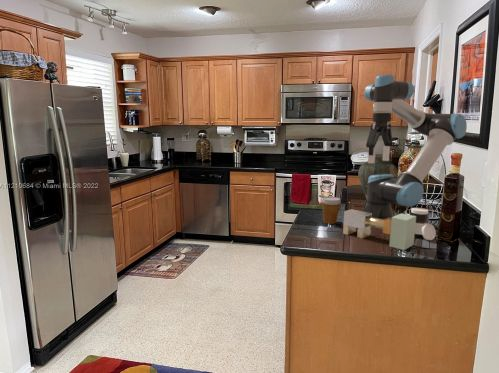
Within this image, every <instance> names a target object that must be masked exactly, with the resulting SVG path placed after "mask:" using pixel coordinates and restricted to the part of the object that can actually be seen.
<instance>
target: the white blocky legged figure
mask: <svg viewBox="0 0 499 373" xmlns="http://www.w3.org/2000/svg"><path fill="white" fill-rule="evenodd" d="M363 211H364V210H363ZM363 211H361V210H356V209H353V208H352V209H348V210H344V211H343V223H342V224H343V225H342V229H343V230H342V234H344V235H348V236H349V235H350V234H353V233H355V232H357V235H356V236H357V237H356V238H359V239H364V238H367V237H369V236H370V235H371V233H372V232H371V230H372V229H371V228H372V227H370V226H366V225H365V219H366V216H368V217H372V213H368V212H363Z"/></svg>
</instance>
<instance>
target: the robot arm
mask: <svg viewBox="0 0 499 373" xmlns="http://www.w3.org/2000/svg"><path fill="white" fill-rule="evenodd" d="M363 94H364V95H363V96H364V98H365V100H366V101H370V102H373V105H372V108H373V109H372V111H373V112H374V113H373V114H372V122H373V123H372V124H371V125H370V131H369V133H368V137H367V140H366V144H365V146H366V148H368V154H367V155H368V156H367V161H368V163H375V154H376V151H377V149H376V148H377V147H376V145H377V144H378V143H377V142H378V140H379V139H380V136H381V139H382V140H383V148H382V154H383V159H382V160H383V161H389V162H390V154H391V153H390V151H391V150H390V149H391V147H393V145H394V142H393V136H392V134H393V133H392V129H391V128H392V125H391V123H390V122H391V121H392V114H394V115H395V116H397V117H398V118H400V119H401V120H403V121H404V122H406V123H407V126H408V127H409V128H411V129H412V130H414V131H415V132H418V133H420V134H421V135H424V136H426V137H428V139H427V141H425V143H424V145H423V146H422V147H421V148H420V151H419V152H418V153H417V155H416V156H415V158H414V159H413V160H412V162H411V163H410V165H409V166H408V167H407V169H406V171H403V172H401V173H399V175H398V176H397V179H393V178H394V177H393V175H391V174H383V175H371V176H370V177H369V179H368V187H367V199H366V204H365V206H364V209H363V212H368V213H372V217H373V218H378V219H382V220H384V219H387V218H392V217H394V216H395V215H394V213H393V209H392V204H395V205H399V206H401V207H402V206H403V207H411V208H412V207H414V206H416V205H418V204H419V203H420V202H421V201H422V199H423V197H424V196H423V195H424V193H425V192H424V191H425V190H424V182H423V181H424V179H425V178H426V177H427V175H428V174H429V172H430V171H431V169H433V166H434V164H436V162H437V161H438V160H439V157H441V154H442V153H443V152H444V150H445V149H446V147H447V146H450V145H452V144H453V143H454V141H455V140H456V139H459V140H460V139H461V138H463V137H464V136H465V134H466V132H467V119H466V118H465V116H464V115H463V114H461V113H455V112H453V113H428V112H425V111H423V110H421V109H417V108H415V107H413V105H411V104H409V103H408V102H407V101H406V100H409V99H411V98H412V97H413V95H414V94H415V86H414V85H413V83H411V82H409V81H400V80H395V76H394V75H393V74H379V75H376V77H375V81H374V83H373V84H369V85H367V86H366V87H365V89H364V92H363ZM374 122H375V123H374Z"/></svg>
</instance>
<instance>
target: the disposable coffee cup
mask: <svg viewBox="0 0 499 373" xmlns="http://www.w3.org/2000/svg"><path fill="white" fill-rule="evenodd" d="M320 201H321V207H322V208H321V209H322V210H321V211H322V217H323V218H322V219H323V221H322V222H323V223H324V224H327V223H328V224H330V225H333V224H334V223H335V224H337V220H338V215H339V210H340V205H341V203H342V201H341V198H340V197H336V196H323V197H321V199H320Z"/></svg>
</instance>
